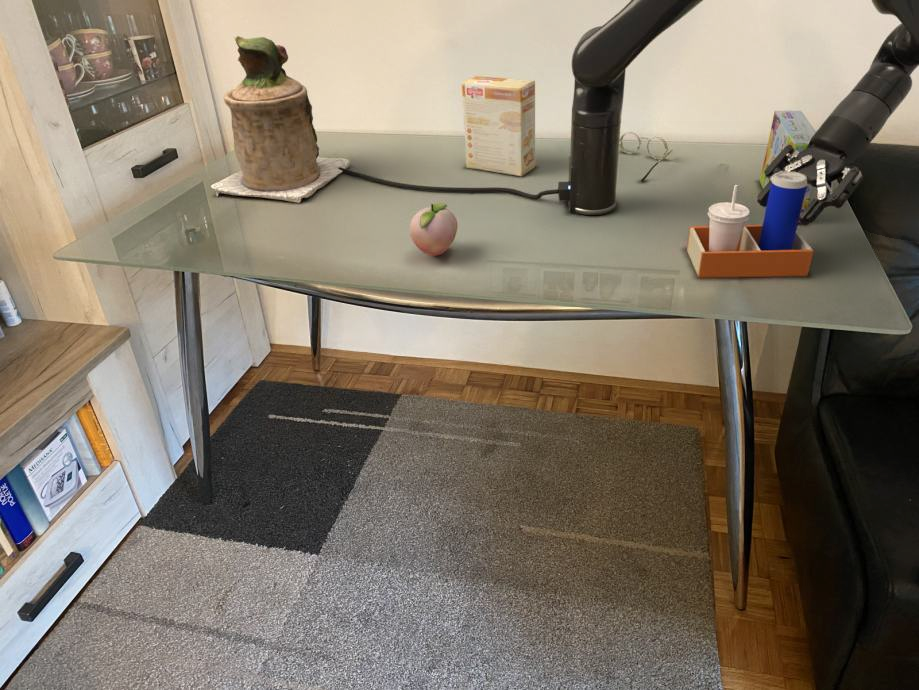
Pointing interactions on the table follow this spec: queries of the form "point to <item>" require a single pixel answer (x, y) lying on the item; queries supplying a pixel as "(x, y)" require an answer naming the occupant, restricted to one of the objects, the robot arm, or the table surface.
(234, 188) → the cookie jar
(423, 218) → the decorative fruit
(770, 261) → the carrier
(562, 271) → the table surface
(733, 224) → the smoothie
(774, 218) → the beverage can
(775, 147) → the snack box
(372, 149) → the table surface
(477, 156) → the coffeecake box
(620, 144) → the round eyeglasses
